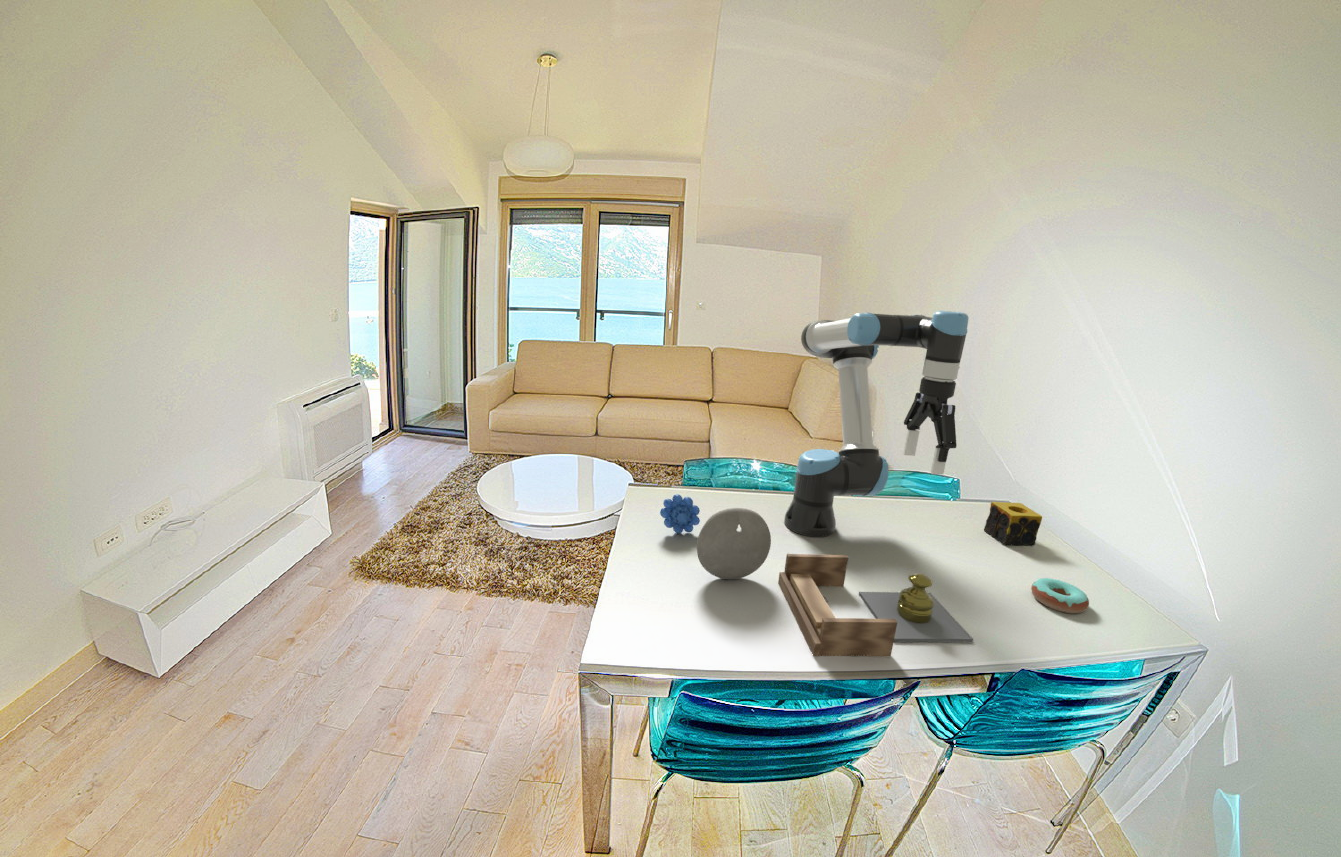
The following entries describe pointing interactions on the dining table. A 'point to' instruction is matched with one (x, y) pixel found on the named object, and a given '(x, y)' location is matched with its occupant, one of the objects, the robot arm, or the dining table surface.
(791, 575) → the offcut rack
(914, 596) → the gold rounded piece
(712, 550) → the grey thick disc
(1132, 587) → the dining table surface
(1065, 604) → the donut
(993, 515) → the yellow brown cube
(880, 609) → the charcoal mat
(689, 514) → the blue flower
